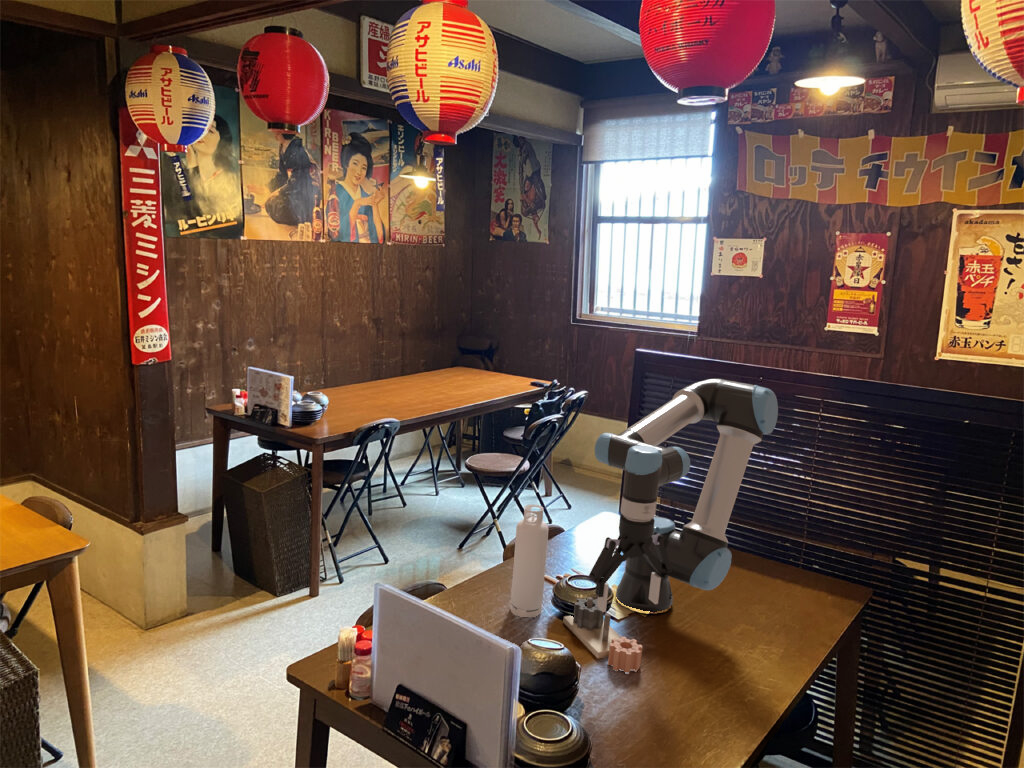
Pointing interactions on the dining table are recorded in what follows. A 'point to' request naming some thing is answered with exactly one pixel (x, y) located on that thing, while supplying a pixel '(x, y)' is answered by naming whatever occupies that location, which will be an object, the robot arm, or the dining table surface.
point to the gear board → (591, 627)
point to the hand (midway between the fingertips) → (627, 605)
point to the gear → (624, 654)
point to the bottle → (529, 563)
